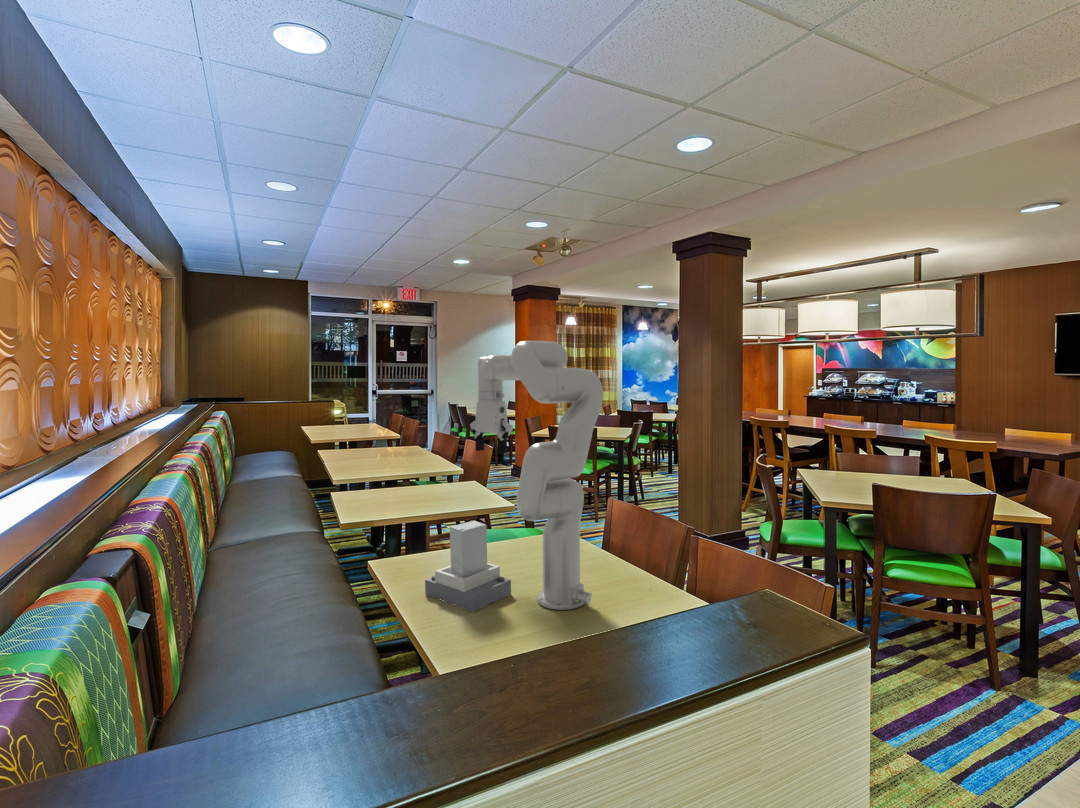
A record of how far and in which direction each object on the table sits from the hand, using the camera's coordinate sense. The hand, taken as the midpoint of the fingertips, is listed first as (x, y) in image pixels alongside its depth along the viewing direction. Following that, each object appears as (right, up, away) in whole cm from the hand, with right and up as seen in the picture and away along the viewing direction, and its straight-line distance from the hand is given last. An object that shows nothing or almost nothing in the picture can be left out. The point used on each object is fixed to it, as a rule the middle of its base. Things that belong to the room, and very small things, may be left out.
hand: (491, 451), depth 175 cm
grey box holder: (-4, -36, -26) cm, 44 cm away
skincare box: (-4, -32, -26) cm, 41 cm away
